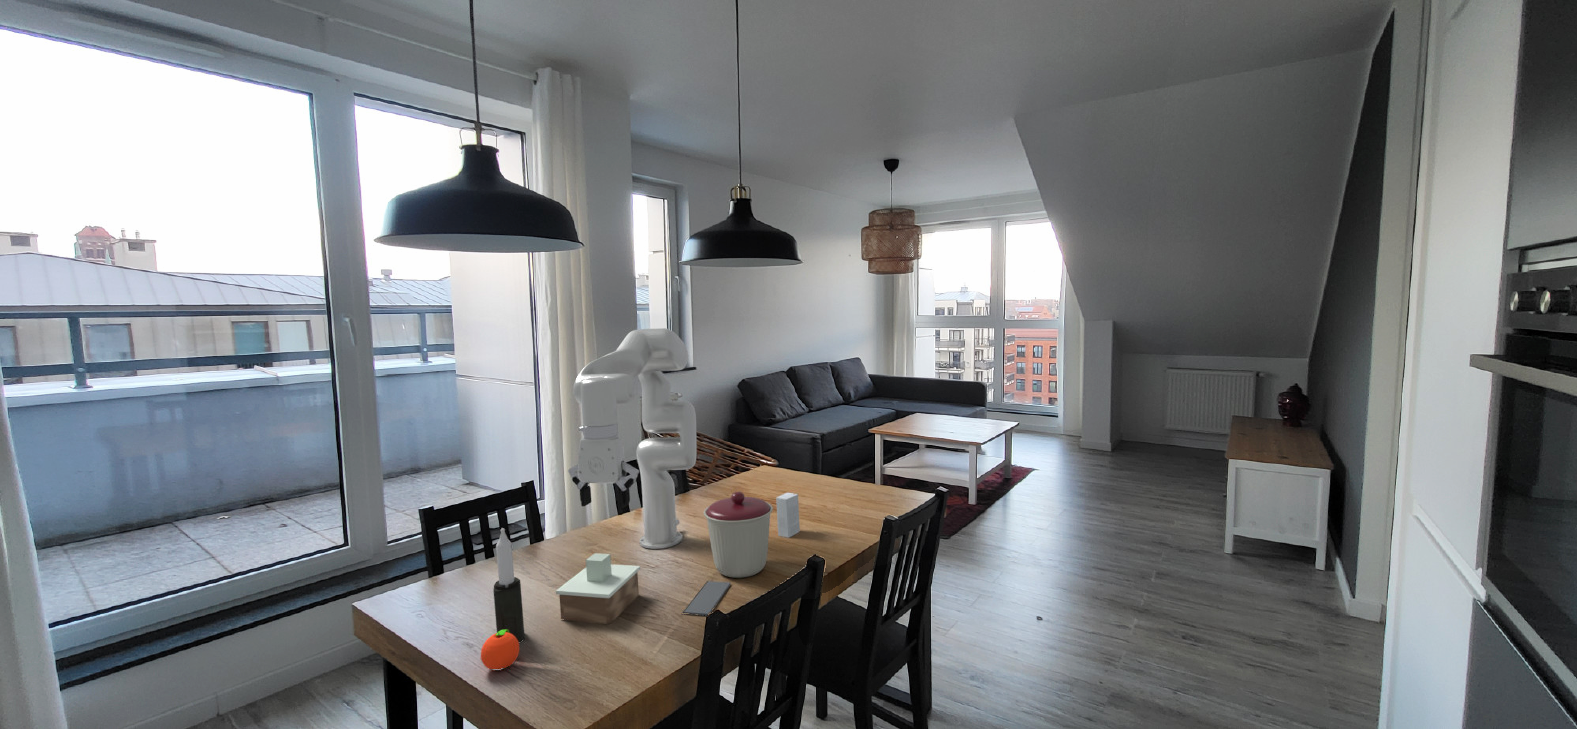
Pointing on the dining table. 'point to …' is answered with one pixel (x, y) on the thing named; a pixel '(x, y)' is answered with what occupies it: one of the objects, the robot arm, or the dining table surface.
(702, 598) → the trivet
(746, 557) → the canister
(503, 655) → the clementine
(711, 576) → the dining table surface
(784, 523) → the skincare box
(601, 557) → the lid
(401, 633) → the dining table surface
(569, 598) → the box
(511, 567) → the candle
